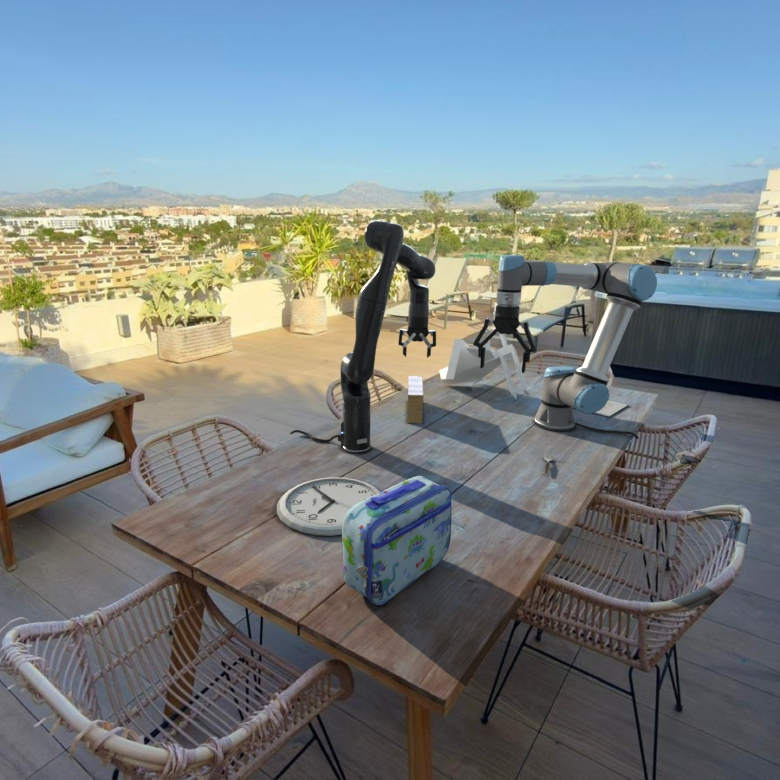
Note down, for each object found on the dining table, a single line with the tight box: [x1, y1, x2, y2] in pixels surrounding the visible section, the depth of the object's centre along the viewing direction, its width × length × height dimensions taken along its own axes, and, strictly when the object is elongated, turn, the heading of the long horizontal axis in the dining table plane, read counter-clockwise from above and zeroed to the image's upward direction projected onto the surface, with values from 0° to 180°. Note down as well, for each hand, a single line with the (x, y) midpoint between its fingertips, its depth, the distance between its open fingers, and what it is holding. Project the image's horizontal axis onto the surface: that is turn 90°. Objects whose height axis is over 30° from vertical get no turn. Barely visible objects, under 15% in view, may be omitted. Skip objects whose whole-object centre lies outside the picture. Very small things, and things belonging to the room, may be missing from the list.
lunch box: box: [341, 475, 453, 606], centre depth 111 cm, size 26×11×21 cm, turn 134°
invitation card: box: [595, 399, 629, 418], centre depth 226 cm, size 21×1×15 cm
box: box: [406, 375, 424, 424], centre depth 215 cm, size 27×6×12 cm, turn 177°
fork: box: [544, 449, 554, 474], centre depth 169 cm, size 3×16×2 cm, turn 160°
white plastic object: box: [438, 311, 531, 400], centre depth 245 cm, size 37×45×31 cm
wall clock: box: [276, 476, 382, 537], centre depth 142 cm, size 30×2×30 cm
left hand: (416, 356), depth 200 cm, fingers open, 8 cm apart
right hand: (502, 369), depth 173 cm, fingers open, 13 cm apart
